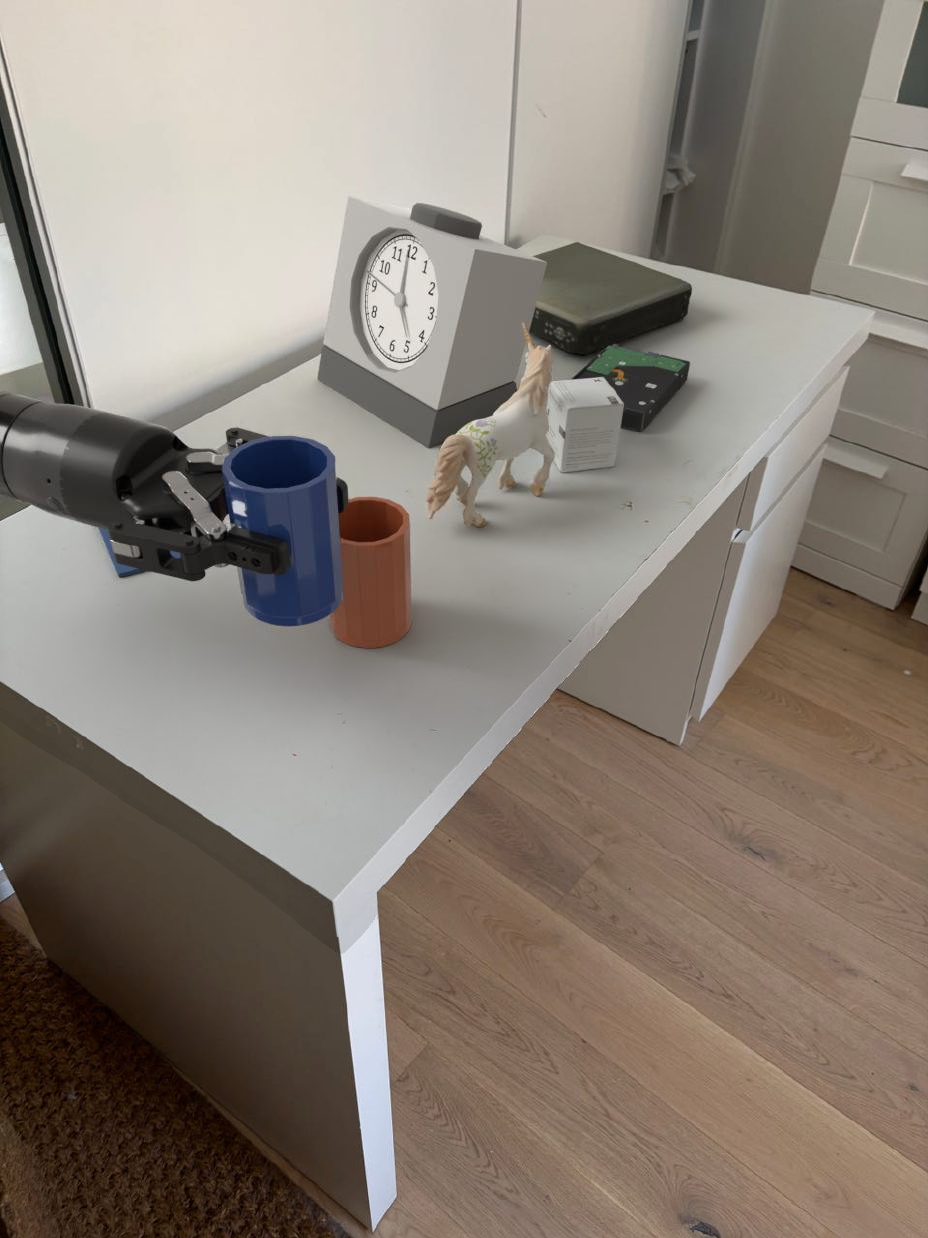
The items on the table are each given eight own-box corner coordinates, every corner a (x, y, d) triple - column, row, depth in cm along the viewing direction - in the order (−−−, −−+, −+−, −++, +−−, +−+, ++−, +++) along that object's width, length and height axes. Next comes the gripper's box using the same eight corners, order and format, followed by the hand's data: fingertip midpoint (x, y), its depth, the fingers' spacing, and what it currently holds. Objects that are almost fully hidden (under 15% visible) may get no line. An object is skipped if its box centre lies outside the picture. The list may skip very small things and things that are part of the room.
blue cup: (261, 638, 60) (242, 503, 54) (230, 580, 65) (208, 449, 58) (359, 609, 63) (352, 476, 56) (322, 555, 67) (311, 426, 61)
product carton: (541, 444, 102) (547, 380, 97) (596, 438, 103) (603, 374, 98) (560, 474, 97) (566, 408, 93) (616, 467, 99) (626, 401, 94)
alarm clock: (317, 378, 113) (302, 196, 100) (422, 343, 121) (421, 170, 108) (428, 448, 101) (427, 252, 88) (536, 403, 109) (550, 218, 96)
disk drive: (643, 436, 104) (687, 381, 114) (647, 413, 102) (691, 359, 112) (555, 413, 108) (606, 361, 118) (557, 390, 106) (608, 339, 116)
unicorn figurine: (577, 461, 99) (591, 337, 91) (489, 558, 86) (496, 424, 78) (515, 443, 102) (522, 321, 93) (420, 534, 89) (419, 402, 80)
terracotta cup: (349, 658, 76) (341, 554, 69) (318, 610, 80) (308, 508, 74) (424, 633, 78) (424, 531, 72) (391, 588, 83) (387, 488, 76)
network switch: (699, 313, 130) (706, 276, 126) (600, 370, 116) (605, 330, 113) (559, 269, 141) (562, 234, 138) (453, 316, 127) (454, 278, 124)
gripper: (2, 470, 56) (247, 538, 52) (152, 372, 67) (368, 421, 62) (35, 573, 61) (262, 643, 57) (171, 466, 71) (372, 518, 67)
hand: (317, 526), depth 59 cm, fingers closed on blue cup, 6 cm apart
